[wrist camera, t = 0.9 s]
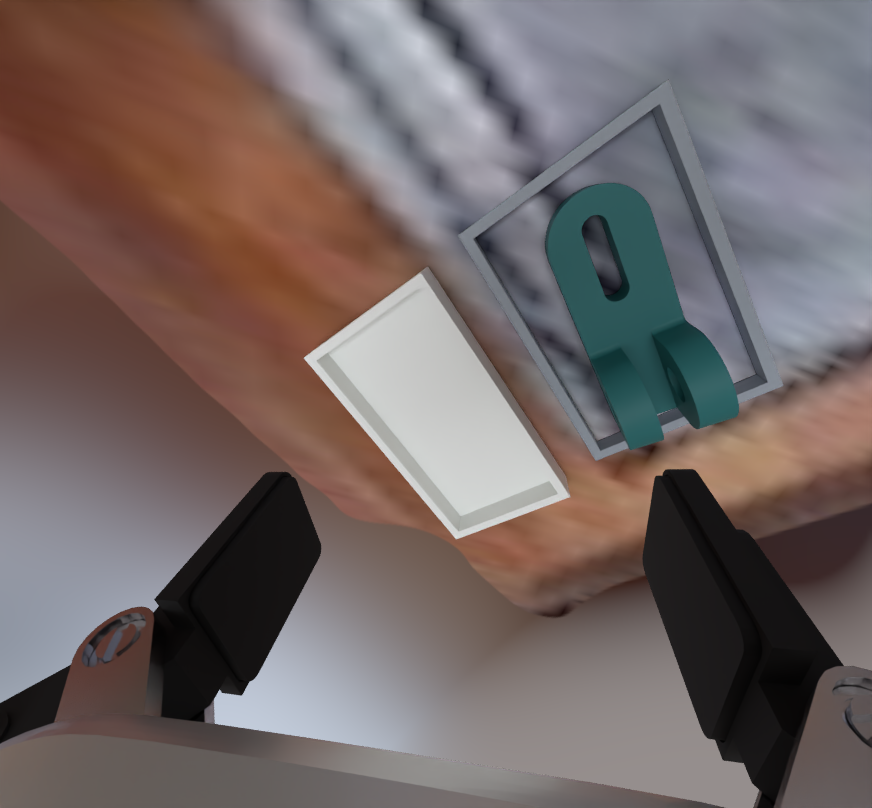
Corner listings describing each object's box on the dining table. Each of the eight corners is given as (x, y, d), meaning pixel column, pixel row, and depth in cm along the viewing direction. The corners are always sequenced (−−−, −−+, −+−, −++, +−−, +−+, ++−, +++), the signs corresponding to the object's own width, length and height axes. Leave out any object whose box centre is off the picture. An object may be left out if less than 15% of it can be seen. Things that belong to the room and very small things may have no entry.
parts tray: (427, 266, 30) (420, 272, 28) (565, 476, 38) (570, 496, 35) (318, 346, 35) (303, 357, 33) (459, 518, 42) (456, 539, 40)
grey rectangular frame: (659, 85, 23) (668, 79, 22) (771, 377, 30) (783, 385, 29) (460, 234, 29) (457, 235, 28) (592, 451, 36) (595, 460, 34)
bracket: (695, 384, 32) (747, 436, 25) (612, 414, 34) (638, 468, 27) (626, 162, 25) (669, 149, 19) (530, 217, 28) (537, 224, 21)
